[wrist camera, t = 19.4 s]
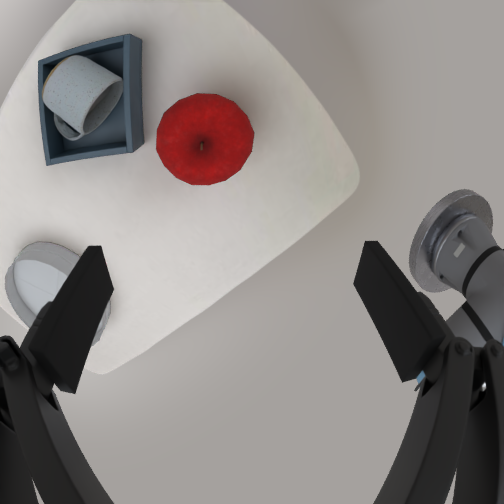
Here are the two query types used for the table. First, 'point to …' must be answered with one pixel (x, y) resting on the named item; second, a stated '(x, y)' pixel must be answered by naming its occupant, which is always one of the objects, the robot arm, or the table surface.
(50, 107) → the ceramic mug
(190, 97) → the apple
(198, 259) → the table surface
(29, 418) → the robot arm
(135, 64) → the tub
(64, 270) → the dish
